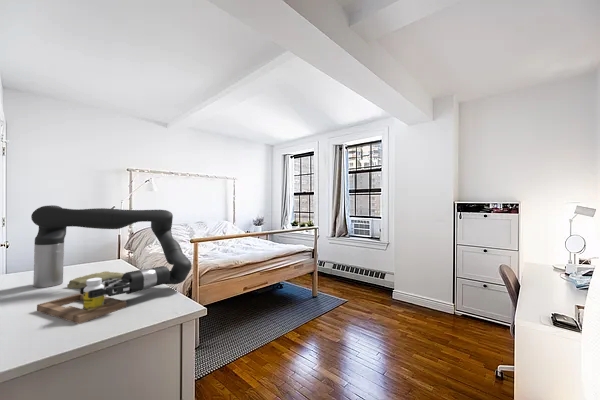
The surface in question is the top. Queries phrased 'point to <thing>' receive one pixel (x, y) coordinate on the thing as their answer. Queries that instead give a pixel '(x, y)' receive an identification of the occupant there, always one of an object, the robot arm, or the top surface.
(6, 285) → the top surface
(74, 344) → the top surface
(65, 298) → the keyhole board
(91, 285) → the supplement bottle
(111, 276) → the decorative tile
